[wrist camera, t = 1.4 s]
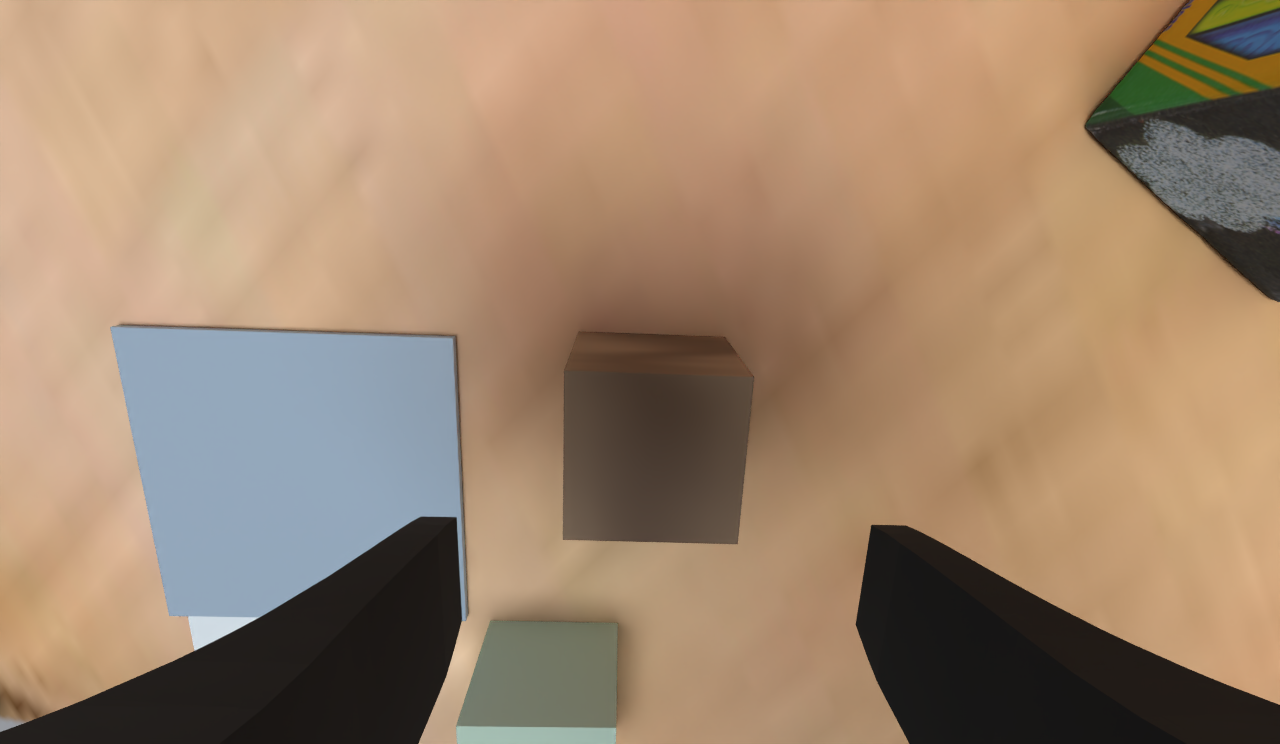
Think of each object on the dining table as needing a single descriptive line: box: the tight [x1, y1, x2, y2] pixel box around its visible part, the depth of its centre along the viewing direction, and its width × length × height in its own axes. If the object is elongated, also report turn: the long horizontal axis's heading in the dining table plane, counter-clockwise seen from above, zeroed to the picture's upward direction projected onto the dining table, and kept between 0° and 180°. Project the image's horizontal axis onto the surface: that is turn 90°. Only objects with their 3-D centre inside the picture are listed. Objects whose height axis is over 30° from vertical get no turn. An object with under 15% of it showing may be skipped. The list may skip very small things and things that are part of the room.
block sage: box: [456, 621, 618, 744], centre depth 20 cm, size 4×4×4 cm
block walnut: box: [563, 332, 754, 544], centre depth 17 cm, size 4×4×4 cm
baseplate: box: [110, 325, 468, 621], centre depth 19 cm, size 10×10×1 cm
